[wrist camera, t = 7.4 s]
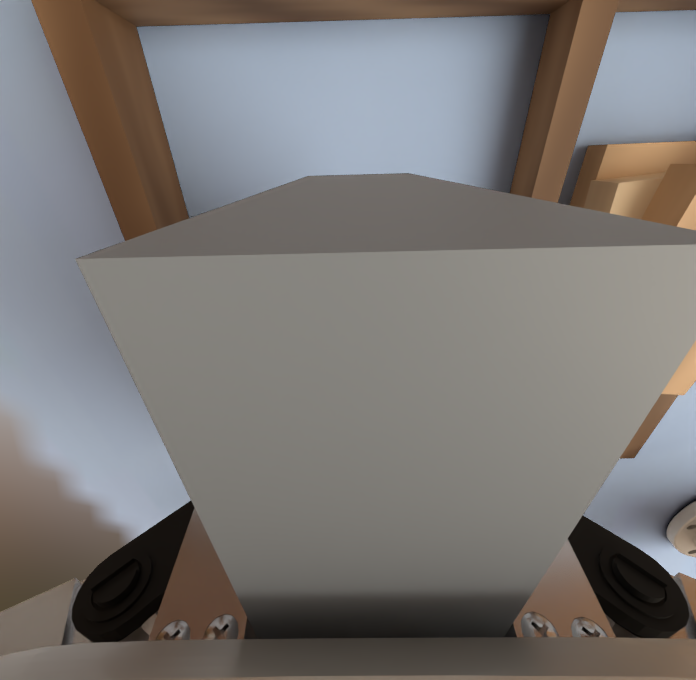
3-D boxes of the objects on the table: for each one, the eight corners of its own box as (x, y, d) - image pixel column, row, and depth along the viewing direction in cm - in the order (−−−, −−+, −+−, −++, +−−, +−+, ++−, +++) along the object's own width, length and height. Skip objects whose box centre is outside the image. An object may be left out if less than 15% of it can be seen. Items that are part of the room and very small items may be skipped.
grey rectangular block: (407, 173, 9) (760, 242, 1) (389, 447, 15) (432, 746, 7) (308, 175, 9) (75, 259, 1) (329, 448, 15) (310, 747, 7)
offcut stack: (739, 139, 14) (901, 131, 10) (620, 367, 21) (688, 418, 17) (578, 146, 14) (672, 141, 10) (511, 370, 21) (552, 422, 17)
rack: (886, -43, 11) (1052, -104, 8) (607, 430, 23) (640, 464, 21) (82, -18, 11) (3, -71, 9) (230, 439, 24) (216, 474, 21)
